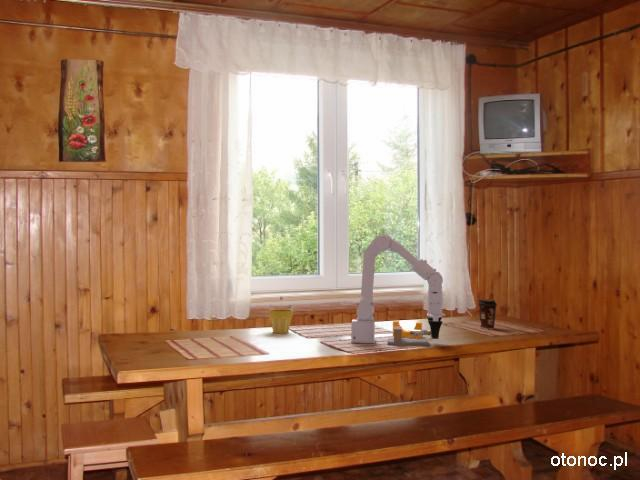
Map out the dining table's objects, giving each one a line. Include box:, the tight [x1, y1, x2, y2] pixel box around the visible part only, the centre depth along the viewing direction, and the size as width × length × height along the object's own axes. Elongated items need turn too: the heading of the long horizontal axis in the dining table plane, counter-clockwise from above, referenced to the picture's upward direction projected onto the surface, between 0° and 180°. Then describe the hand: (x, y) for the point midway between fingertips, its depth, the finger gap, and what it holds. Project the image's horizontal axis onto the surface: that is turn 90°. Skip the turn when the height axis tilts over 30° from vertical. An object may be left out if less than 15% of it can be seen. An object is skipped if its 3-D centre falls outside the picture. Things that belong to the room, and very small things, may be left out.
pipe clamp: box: [392, 320, 424, 339], centre depth 289 cm, size 12×4×6 cm, turn 68°
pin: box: [409, 329, 440, 340], centre depth 271 cm, size 11×3×4 cm, turn 83°
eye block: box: [386, 325, 430, 347], centre depth 272 cm, size 16×8×6 cm, turn 83°
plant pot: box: [268, 308, 294, 334], centre depth 298 cm, size 10×10×10 cm
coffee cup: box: [478, 298, 498, 330], centre depth 313 cm, size 9×8×13 cm
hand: (434, 337), depth 270 cm, fingers open, 7 cm apart
